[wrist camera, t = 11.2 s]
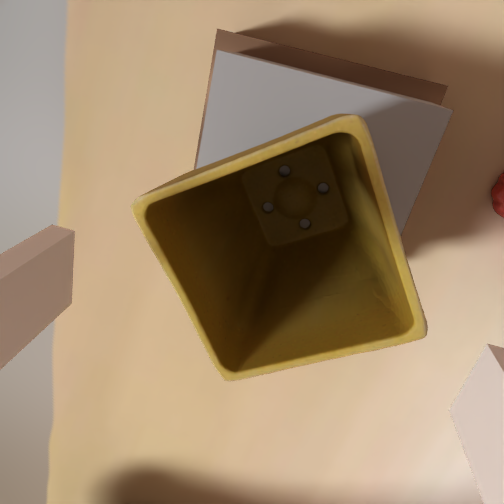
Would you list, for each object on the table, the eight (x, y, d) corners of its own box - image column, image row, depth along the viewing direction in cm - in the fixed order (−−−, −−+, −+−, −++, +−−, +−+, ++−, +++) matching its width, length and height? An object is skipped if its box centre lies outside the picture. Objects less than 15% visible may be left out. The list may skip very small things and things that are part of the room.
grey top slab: (362, 274, 30) (368, 311, 26) (202, 229, 31) (180, 258, 26) (430, 102, 25) (453, 110, 20) (236, 52, 26) (216, 49, 21)
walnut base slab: (361, 259, 35) (366, 288, 30) (200, 215, 36) (182, 237, 31) (429, 82, 29) (448, 86, 24) (233, 33, 30) (217, 28, 25)
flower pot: (397, 244, 24) (432, 341, 15) (255, 285, 26) (222, 386, 18) (350, 88, 21) (363, 108, 13) (195, 151, 23) (123, 202, 15)
